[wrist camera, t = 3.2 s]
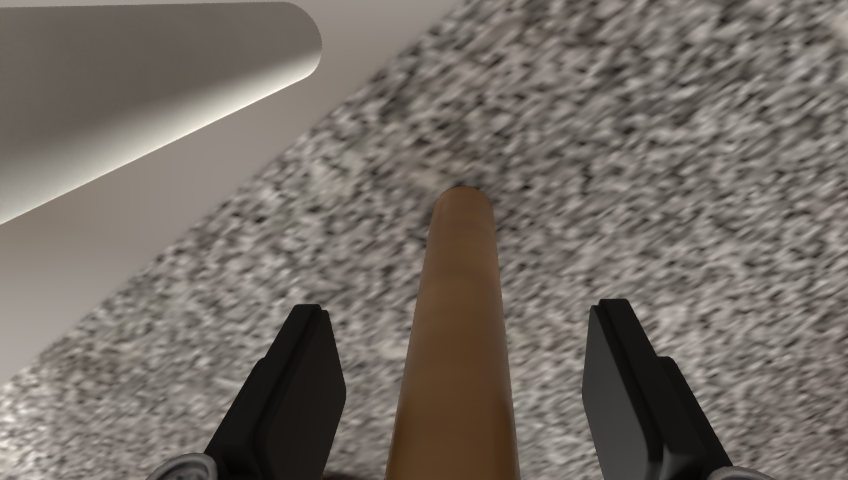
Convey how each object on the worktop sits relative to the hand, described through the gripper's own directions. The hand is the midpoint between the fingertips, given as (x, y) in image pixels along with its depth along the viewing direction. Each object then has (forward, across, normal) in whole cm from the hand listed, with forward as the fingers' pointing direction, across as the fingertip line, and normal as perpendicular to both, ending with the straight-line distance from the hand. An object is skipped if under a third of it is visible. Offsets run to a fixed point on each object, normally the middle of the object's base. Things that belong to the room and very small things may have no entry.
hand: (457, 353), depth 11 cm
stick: (+8, 0, 0) cm, 8 cm away
